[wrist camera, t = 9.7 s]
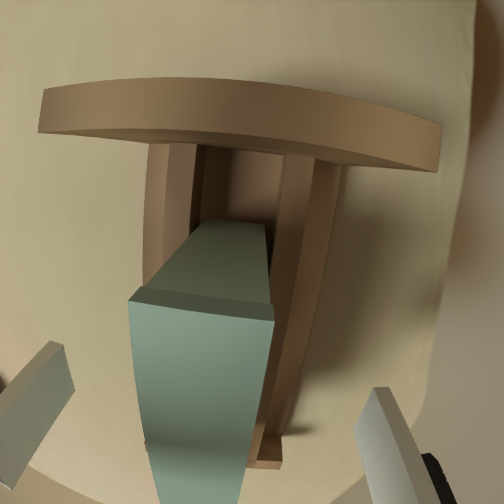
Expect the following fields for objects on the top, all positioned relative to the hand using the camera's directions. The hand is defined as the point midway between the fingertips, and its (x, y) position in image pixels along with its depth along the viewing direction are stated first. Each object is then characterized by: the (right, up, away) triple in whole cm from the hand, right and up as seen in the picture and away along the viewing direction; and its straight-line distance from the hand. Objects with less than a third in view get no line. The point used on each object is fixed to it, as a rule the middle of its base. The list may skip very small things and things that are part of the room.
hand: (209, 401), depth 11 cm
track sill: (0, +2, +7) cm, 8 cm away
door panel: (0, +2, +6) cm, 7 cm away
